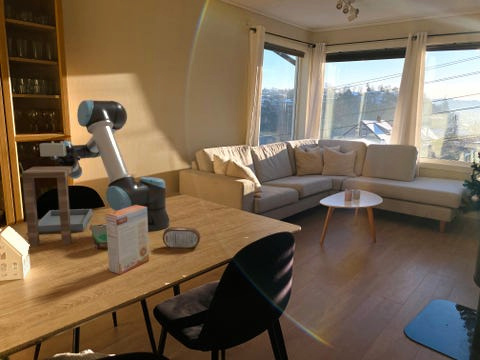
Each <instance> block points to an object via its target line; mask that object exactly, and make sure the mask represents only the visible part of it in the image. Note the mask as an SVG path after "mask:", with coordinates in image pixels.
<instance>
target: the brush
mask: <svg viewBox="0 0 480 360" xmlns="http://www.w3.org/2000/svg"><path fill="white" fill-rule="evenodd" d="M39 152H40V155H39V156H40V157H50V156H56V157H57V156H65V155H66V143H61V142H54V143H50V142H44V143H43V142H42V143H39Z"/></svg>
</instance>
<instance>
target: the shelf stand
mask: <svg viewBox="0 0 480 360" xmlns="http://www.w3.org/2000/svg"><path fill="white" fill-rule="evenodd" d="M72 171H73V166H61V165H60V166H58V165H57V166H56V165H55V166H54V165H53V166H51V165H50V166H49V165H48V166H44V165H43V166H32V167H30V168H28V169H26V170H24V171H22V172H21V179H22V187H23V196H24V197H23V199H24V206H25V207H24V208H25V218H26V219H25V220H26V229H27V230H26V231H27V236H28V237H27V238H28V239H27V240H28V245H29V244H30V246H31V247H30V248H36V247H37V248H38V247H39V245H40V244H41V242H40V233H39V229H38V222H39V221H38V220H39V219H38V218H39V217H38V211H37V210H38V209H37V208H38V207H37V200H36V199H37V197H36V188H35V187H36V186H35V179H40V178H41V179H44V178H45V179H47V178H48V179H49V178H54V179H55V178H56V184H57V196H58V197H57V198H58V210H59V211H60V224H61V232H60V235H61V236H60V237H61V245H62V246H70V245H72V242H73V241H72V238H73V237H72V232H71V224H70V210H71V209H70V198H69V185H68V184H69V183H68V174H70V173H71V172H72Z"/></svg>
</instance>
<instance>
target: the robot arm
mask: <svg viewBox="0 0 480 360" xmlns="http://www.w3.org/2000/svg"><path fill="white" fill-rule="evenodd" d="M76 116H77V117H76V119H77V122H78V125H80V126H81V127H83V128H86V130H87V133H88V134H90V135H92V136H91V137H90V138H89V140H88V141H87V142H86V144H76V145H75V144H73V143H72V142H71V141H68V140H64V141H63V140H61V141H60V143H66V155H65V156H49V157H50V161H57V162H59V165H60V166H73V171H72V172H71V173H70V174H68V175H67V177H69V178H71V179H79V178H80V177H81V176H82V175H83V169H82V166H81V164H80V162H79V161H81V159H91V158H92V159H94V158H99V157H100V158H101V160H102V163H103V166H104V169H105V171H106V173H107V177H108V180H109V182H108V184H107V188H106V190H105V198H106V202H107V204H108V206H109V207H110V208H111V210H113V211H118V210H121V209H124V208H127V207H131V206H134V205H140V206H144V207H147V220H148V231H159V230H164V229H168V228H169V226H170V224H171V223H170V221H171V220H170V217H169V215H168V213H167V209H166V208H167V206H166V204H167V203H166V188H167V187H166V182H165V179H163V178H160V177H153V176H152V177H151V176H141V177H140V178H139V179H138V181H136V180H135V177H134V176H133V175H131V174H129V170H128V167H127V165H126V162H125V161H124V159H123V155H122V153H121V150H120V148H119V145H118V142H117V140H116V137H115V133H117V131H119V130H121V129H122V128H123V127H124V126H125V125H126V124H127V120H128V113H127V110H126V108H125V107H124V106H123V105H122V104H121V103H120V102H118V101H115V100H93V99H90V100H89V99H88V100H86V99H85V100H82V101H81V102H80V103H79V105H78V107H77V113H76ZM51 143H55V141H54V140H52V141H51Z"/></svg>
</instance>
